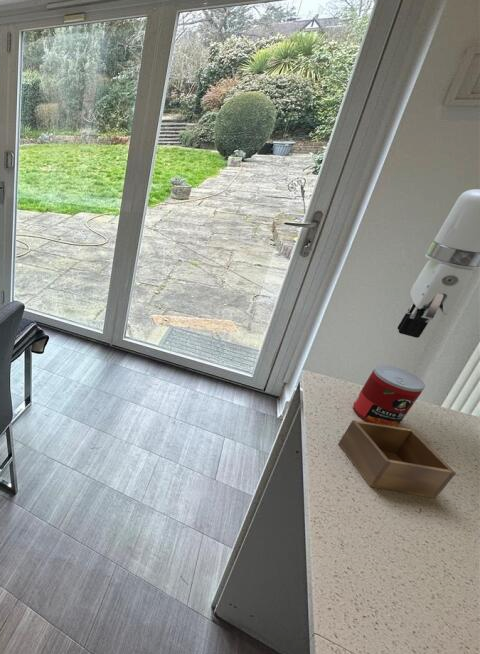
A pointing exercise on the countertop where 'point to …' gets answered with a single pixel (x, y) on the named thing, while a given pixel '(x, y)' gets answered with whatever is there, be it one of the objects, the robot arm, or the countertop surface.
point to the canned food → (388, 395)
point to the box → (395, 459)
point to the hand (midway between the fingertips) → (407, 333)
